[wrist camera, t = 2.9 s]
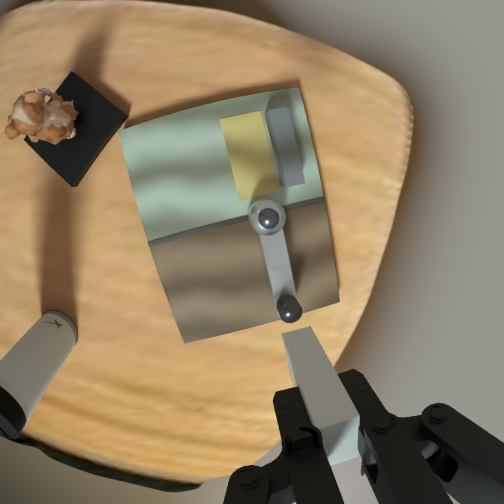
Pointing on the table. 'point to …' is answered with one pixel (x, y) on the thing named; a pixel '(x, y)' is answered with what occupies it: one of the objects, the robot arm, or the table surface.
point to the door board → (230, 208)
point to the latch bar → (275, 256)
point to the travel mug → (32, 369)
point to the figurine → (66, 126)
